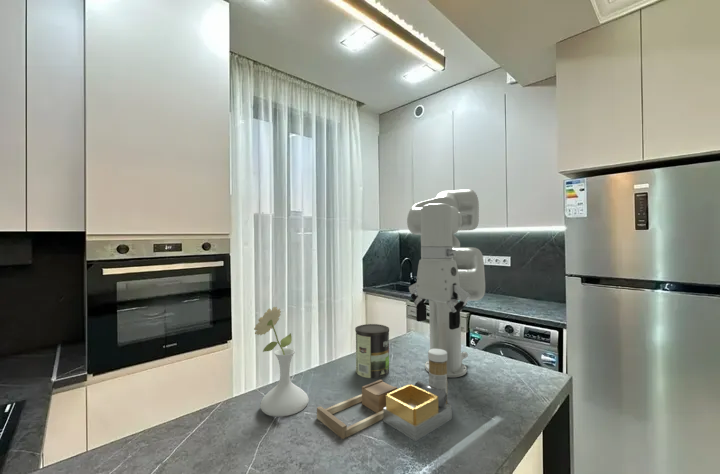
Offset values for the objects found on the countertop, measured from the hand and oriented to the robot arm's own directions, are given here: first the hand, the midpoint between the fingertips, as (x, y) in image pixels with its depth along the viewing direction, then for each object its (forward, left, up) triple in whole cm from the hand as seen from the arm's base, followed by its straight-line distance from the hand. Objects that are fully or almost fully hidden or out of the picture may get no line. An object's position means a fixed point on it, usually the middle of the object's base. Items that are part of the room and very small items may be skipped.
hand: (437, 324), depth 77 cm
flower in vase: (+30, -23, -20) cm, 43 cm away
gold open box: (+10, +2, -20) cm, 22 cm away
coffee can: (0, -24, -20) cm, 31 cm away
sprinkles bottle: (0, 0, -20) cm, 20 cm away
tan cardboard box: (+12, -8, -19) cm, 24 cm away
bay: (+17, -8, -20) cm, 27 cm away
